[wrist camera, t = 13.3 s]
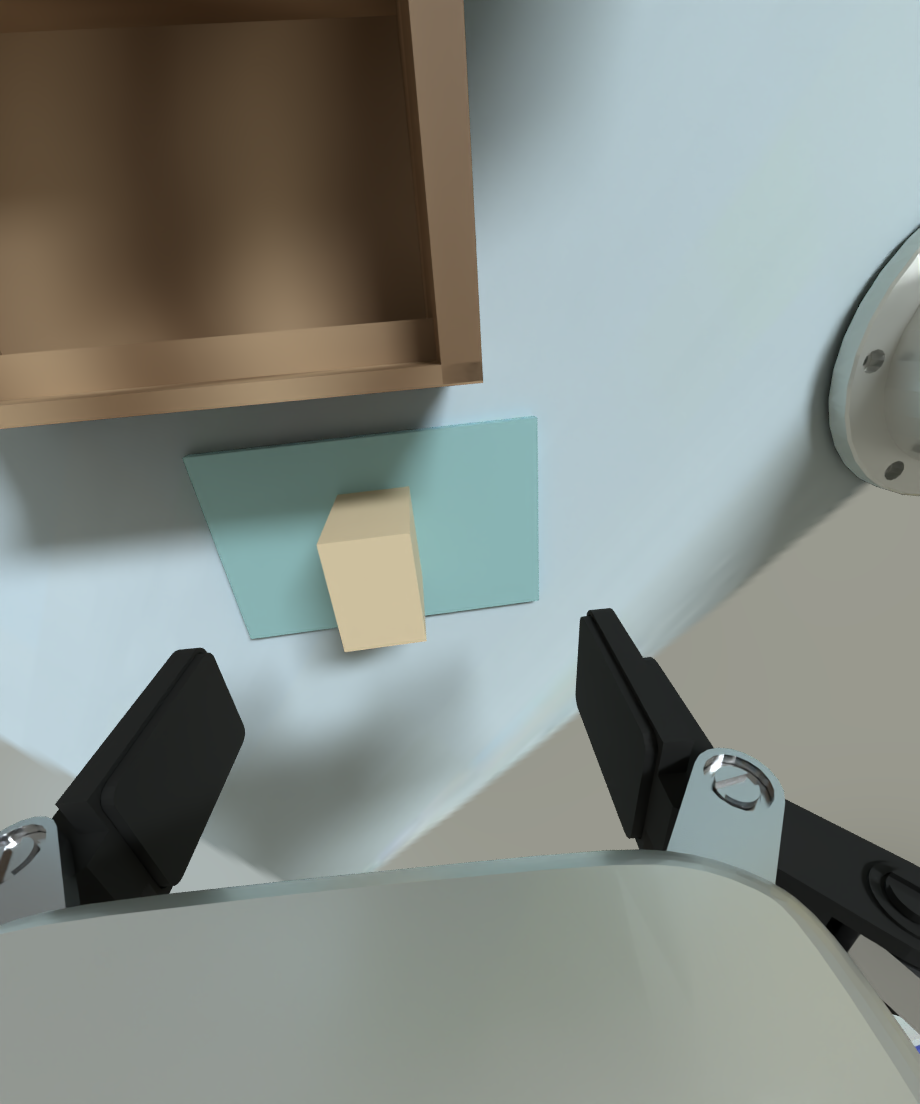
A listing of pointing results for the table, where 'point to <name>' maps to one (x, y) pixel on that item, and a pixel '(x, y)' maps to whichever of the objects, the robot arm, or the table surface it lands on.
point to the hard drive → (917, 1044)
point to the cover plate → (447, 506)
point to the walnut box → (232, 204)
